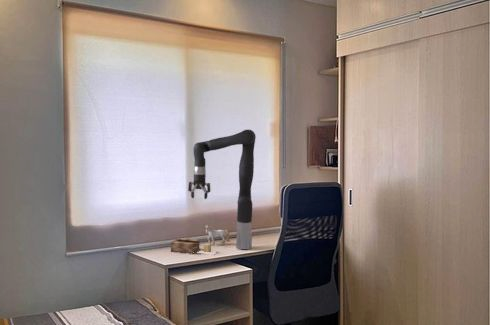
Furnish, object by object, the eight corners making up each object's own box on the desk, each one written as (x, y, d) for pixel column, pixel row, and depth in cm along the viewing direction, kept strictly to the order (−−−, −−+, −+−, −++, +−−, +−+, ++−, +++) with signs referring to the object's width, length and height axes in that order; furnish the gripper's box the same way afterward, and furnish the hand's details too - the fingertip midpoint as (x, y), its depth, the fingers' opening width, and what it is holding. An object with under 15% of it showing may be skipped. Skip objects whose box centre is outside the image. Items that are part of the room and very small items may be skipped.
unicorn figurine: (198, 245, 320) (199, 224, 319) (225, 242, 330) (226, 222, 329) (203, 247, 314) (203, 227, 313) (230, 244, 324) (231, 224, 323)
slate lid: (218, 253, 305) (219, 243, 304) (213, 256, 297) (213, 246, 297) (201, 250, 309) (201, 241, 308) (195, 253, 301) (195, 244, 301)
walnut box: (199, 249, 310) (199, 239, 310) (192, 254, 299) (192, 244, 298) (178, 247, 314) (178, 237, 313) (170, 251, 302) (170, 242, 302)
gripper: (212, 173, 320) (211, 198, 321) (191, 172, 323) (190, 196, 325) (208, 174, 312) (207, 200, 314) (187, 173, 316) (186, 198, 318)
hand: (199, 198), depth 319 cm, fingers open, 8 cm apart
